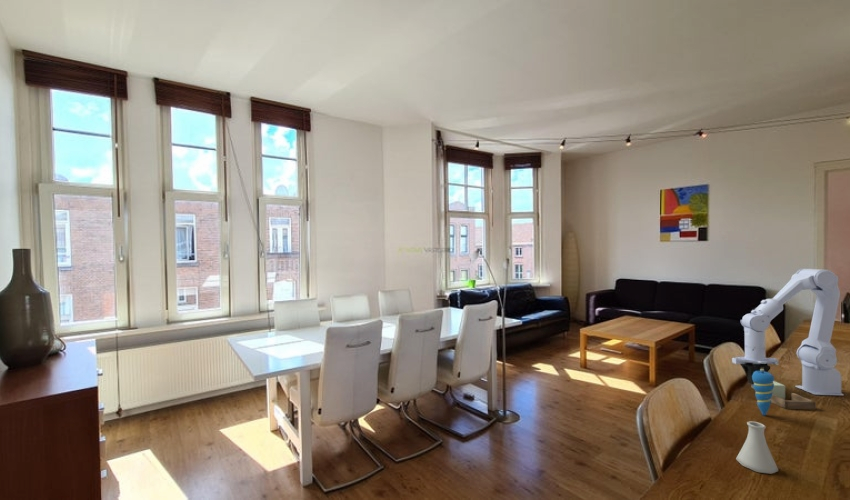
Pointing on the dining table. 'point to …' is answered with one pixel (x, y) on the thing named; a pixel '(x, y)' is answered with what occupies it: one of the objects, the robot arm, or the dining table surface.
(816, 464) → the dining table surface
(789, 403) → the frame
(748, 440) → the flask
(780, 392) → the sage block
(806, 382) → the robot arm
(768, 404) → the ornament
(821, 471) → the dining table surface
